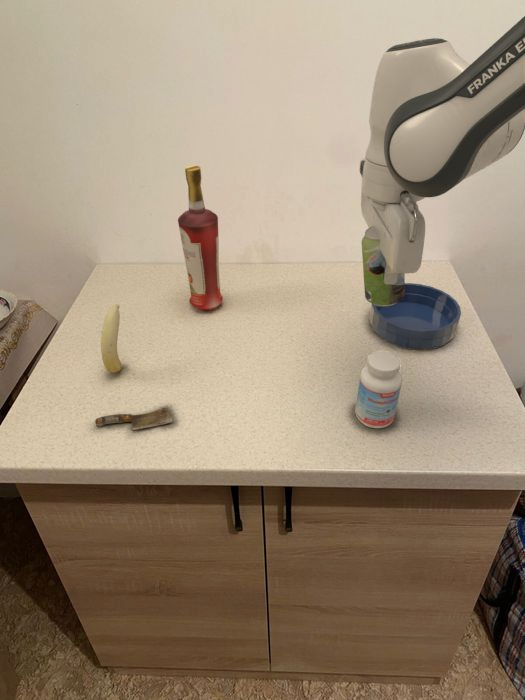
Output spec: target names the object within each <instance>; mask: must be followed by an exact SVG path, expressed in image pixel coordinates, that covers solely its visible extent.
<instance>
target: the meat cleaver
mask: <svg viewBox="0 0 525 700" xmlns="http://www.w3.org/2000/svg"><path fill="white" fill-rule="evenodd" d="M94 422H95V426H97V427H101V426H105V425H108V424H116V423H117V424H119V423H131V427H132V431H136V430H142V429H147V428H152V427H157V426H162V425H167V424H171V423H173V422H174V419H173V417H172V415H171V412H170V411H169V408H168V407H167V406H165V407H162V408H159V409H157V410H154V411H151V412H148V413H142V414H131V413H129V414H127V413H117V414H110V415H105V416H100V417H97V418H95V421H94Z"/></svg>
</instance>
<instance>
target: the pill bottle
mask: <svg viewBox="0 0 525 700" xmlns="http://www.w3.org/2000/svg"><path fill="white" fill-rule="evenodd" d="M401 364H402V362H401V359H400V357H399V356H398V355H397V354H395V353H394V352H391V351H389V350H376V351H373V352H371V353H370V354H369V355H368V357H367V361H366V365H365V366H364V367H363V368H362V370H361V372H360V375H359V382H358V387H357V388H358V389H357V395H356V400H355V407H354V408H355V409H354V413H355V416H356V418H357V419H358V421H359V422H360V423H361V424H363V425H364V426H366V427H367V428H371V429H383V428H386V427H389V426H390V425H392V423H393V422H394V420H395V416H396V413H397V408H398V407H397V406H398V402H399V398H400V394H401V388H402V383H403V376H402V374H401V373H402V372H400V370H401Z"/></svg>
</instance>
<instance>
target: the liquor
mask: <svg viewBox="0 0 525 700" xmlns="http://www.w3.org/2000/svg"><path fill="white" fill-rule="evenodd" d="M184 173H185V180H186V183H187V186H188V187H187V191H188V195H187V196H188V210H186V211H184V212H183V213H182V214H181V215H180V216H178V218H177V223H178V230H179V234H180V241H181V247H182V252H183V256H184V263H185V267H186V273H187V278H188V284H189V285H188V286H189V293H190V297H189V300H188V301H189V304H190V305H191V306H192V307H194V308H196V309H197V310H200V311H204V312H208V311H212V310H215V309H216V308H217V307H218V306H219V305H221V303H222V302H223V300H224V297H223V295H222V293H221V282H220V281H221V280H220V279H221V277H220V241H219V216H218V215H217V213H215V212H213V210H211V209H208V208H206V207H205V201H204V195H203V190H202V170H201V166H200V165H199V166H198V165H188V166H186V167H185V168H184Z"/></svg>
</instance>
